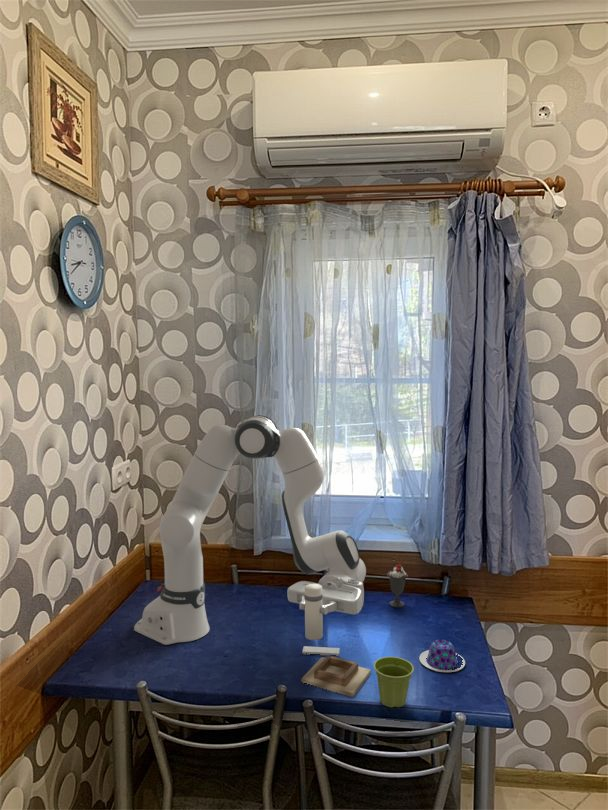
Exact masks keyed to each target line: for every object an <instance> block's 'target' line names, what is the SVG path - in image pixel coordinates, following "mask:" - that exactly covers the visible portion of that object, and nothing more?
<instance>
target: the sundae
mask: <svg viewBox="0 0 608 810" xmlns="http://www.w3.org/2000/svg"><path fill="white" fill-rule="evenodd" d="M400 563H401V562H400V561H399V562H398V563H397V564H396V565H395V566H394V567H393V569H392V570H389V571H388V572H387V573H386V576H387V577H388V579H389V584H390V590H391V592H392V593H393V594H394V596H395V597H394V600H391V601H389V606H390V607H393V608H403V607H405V602H403V601H401V600H400V595H401V594H402V593H403V592H404V589H405V583H406V580H407V578H408V577H409V575H408V573H407V572H406V570H404V568H403V566H402V564H400Z"/></svg>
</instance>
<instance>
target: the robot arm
mask: <svg viewBox="0 0 608 810" xmlns="http://www.w3.org/2000/svg"><path fill="white" fill-rule="evenodd" d="M240 454H241V455H242V456H243V457H246V458H249V459H265V458H274V459H275V461H276V462H277V464H278V466H279V467H280V468H279V469H280V470H281V473H282V476H283V478H284V490H283V491H282V493H281V502H282V507H283V513H284V517H285V522H286V526H287V528H288V533H289V537H290V541H291V545H292V554H293V561H294V563H295V566H296V567H297V569H298V570H300V571H301V572H303V573H304V574H306V575H310V576H311V575H314V574H316V573H319V572H321V571H325V570H328V569H329V570H328V572H327V573H326V574H325V575H324V576H322V577H321V578H320V579H319V581H318V582H313V581H308V580H307V581H306V580H300V581H297V582H295V583H294V584H292V585H290V586H289V587H288V588H287V591H286V592H287V594H286V595H287V599H288V602H290V603H295V604H299V610H301V611H305V598H304V593H305V586H306V585H308V584H319V585H321V586H322V597H323V598H322V606H321V608H320V610H321V611H320V613H321V614H323V615H327V614H329V613H332V612H338V613H343V614H348V615H357V614H359V613H360V612H361V610H362V608H363V606H364V601H365V600H364V599H365V589H364V581H365V578H366V576H367V568H366V564H365V563H364V561H363V560H362V559H361V557H360V552H359V548H358V547H359V546H358V545H357V543H356V541H355V539H354V538H353V537H352V536H351V535H350V534H349V533H348V532H346V531H345V530H341V529H339V530H336V531H331V532H328V533H326V534H322V535H317V536H314V537H311V536H310V535H309V534H308V529H307V525H306V521H305V517H304V513H303V507H304V505H305V503H306V502H307V501H308V500H309V499H310V498H312V497H313V496H314V495H315V493H317V491H319V489H320V488H321V486H322V484H323V480H324V470H323V467H322V463H320V460H319V459H320V458H318V455H317V452H316V450H315V449H314V447H313V444H312V443H311V441H310V439H309V438H308V436H307V435H306V433H305V432H304V431H303V430H302V429H300V428H298V427H297V428H296V427H291V428H286V429H284V430H283V429H282V430H279V429H278V427H277V425H276V423H275V422H274V421H273V420H272V419H271V418H270V417H268V416H265V415H260V414H259V415H254V416H251V417H250V418H249V417H248V418H247V419H246V420H244V421H243V422H242V423H241V424H239V425H237V426H236V427H232V426H230V425H227V424H215V425H213V426H211V427H210V429H209V430H208V431H207V432H206V434H205V435H204V437H203V438H202V440H201V441H200V442H199V445H198V446H197V448H196V450H195V452H194V454H193V456H192V458H191V460H190V462H189V464H188V466H187V467H186V470H185V471H184V474H183V476H182V478H181V481H180V483H179V485H178V487H177V489H176V492H175V494H174V496H173V498H172V501H171V502H170V504H169V506H168V507H167V509H166V510H165V512H164V514H163V516H162V517H161V519H160V522H159V526H158V527H159V531H158V532H159V538H160V543H161V549H162V555H163V562H164V566H163V567H164V583H163V584H161V585H160V586H159V587H157V592H160V591H161V592H160V595H159V596H157V597H156V598H155V599H153V600H152V601H151V602H150V603H148V604H147V605H146V606H145V607H144V609H143V611H142V617H141V618H140V619H139V620H138V621H137V622H136V623H135V625H134V627H133V631H135V632H137V633H139V634H141V635H143V636H144V637H147V638H149V639H151V640H154V641H156V642H158V643H160V644H162V645H164V646H165V645H166V646H167V645H171V644H176V643H187V642H188V643H189V642H192V641H195V640H199V639H201V638H202V637H204V636H206V635H207V634H208V633H209V632H210V623H209V622H208V621H209V620H208V618H207V617H208V616H207V612H206V606H205V601H206V584H205V581H204V557H203V552H202V546H201V545H202V544H201V528H202V525H203V523H204V521H205V519H206V516H207V515H208V513H209V511H210V509H211V507H212V505H213V503H214V502H215V499H216V498H217V496H218V494H219V491H221V490H220V489H221V487H222V486H223V483H224V482H225V479H226V477H227V476H228V474H229V472H230V469H231V468H232V465H233V463H234V462H235V460H236V458H237V457H238V456H239V455H240Z"/></svg>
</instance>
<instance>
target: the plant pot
mask: <svg viewBox="0 0 608 810" xmlns="http://www.w3.org/2000/svg"><path fill="white" fill-rule="evenodd" d="M373 669H374V671H375V675H376V677H377V679H376V680H377V684H378V685H377V687H378V693H379V694H378V695H379V701H380V703H381V704H382V705H384V706H386V707H387V708H388V707H389V708H394V707H396V708H401V707H403V706H405V704H406V702H407V695H408V690H409V684H410V680H411V677H412V674H413V673H414V670H415V667H414V665H413V664H412V662H410V661H408V660H407V659H404V658H402V657H398V656H383V657H379V658H378V659H376V660H375V661H374V662H373Z"/></svg>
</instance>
